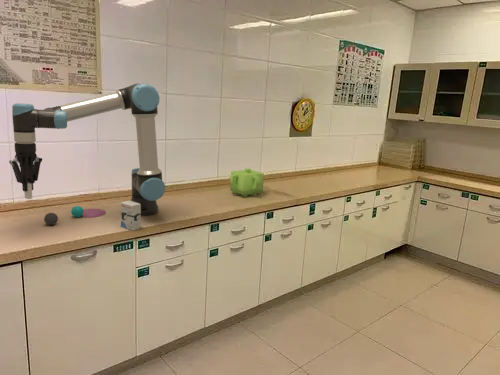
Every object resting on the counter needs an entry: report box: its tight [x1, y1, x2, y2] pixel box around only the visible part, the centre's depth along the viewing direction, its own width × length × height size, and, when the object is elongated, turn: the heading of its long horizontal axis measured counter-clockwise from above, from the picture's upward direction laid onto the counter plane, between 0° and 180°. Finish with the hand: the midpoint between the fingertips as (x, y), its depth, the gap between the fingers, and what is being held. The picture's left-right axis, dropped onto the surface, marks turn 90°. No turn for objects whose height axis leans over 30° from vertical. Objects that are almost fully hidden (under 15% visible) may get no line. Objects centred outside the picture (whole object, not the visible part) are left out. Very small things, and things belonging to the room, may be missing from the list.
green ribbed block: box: [229, 168, 265, 198], centre depth 246 cm, size 25×23×17 cm
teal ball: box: [70, 205, 84, 218], centre depth 183 cm, size 6×6×6 cm
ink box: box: [120, 200, 142, 231], centre depth 173 cm, size 8×5×12 cm, turn 56°
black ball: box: [43, 212, 59, 226], centre depth 171 cm, size 6×6×6 cm
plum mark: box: [80, 208, 107, 218], centre depth 191 cm, size 14×14×1 cm
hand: (28, 198), depth 160 cm, fingers closed
